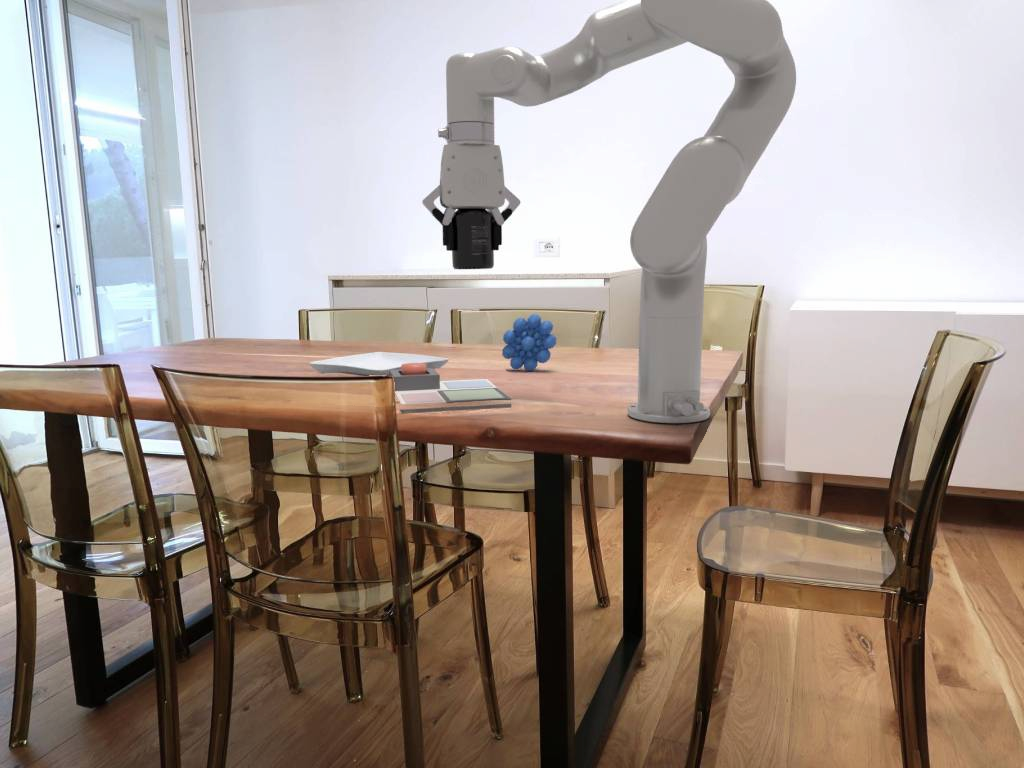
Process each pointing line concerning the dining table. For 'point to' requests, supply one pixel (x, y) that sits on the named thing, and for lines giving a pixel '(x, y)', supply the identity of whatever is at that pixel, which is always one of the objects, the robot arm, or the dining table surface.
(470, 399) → the printed board
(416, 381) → the button housing
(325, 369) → the salad plate
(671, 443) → the dining table surface
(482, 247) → the supplement bottle
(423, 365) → the button
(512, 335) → the grapes
